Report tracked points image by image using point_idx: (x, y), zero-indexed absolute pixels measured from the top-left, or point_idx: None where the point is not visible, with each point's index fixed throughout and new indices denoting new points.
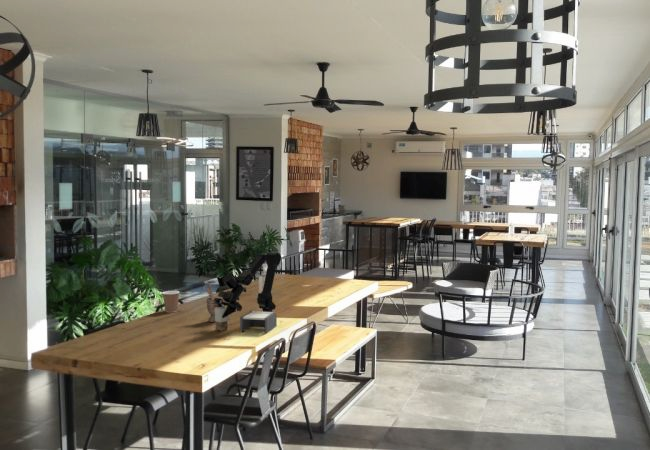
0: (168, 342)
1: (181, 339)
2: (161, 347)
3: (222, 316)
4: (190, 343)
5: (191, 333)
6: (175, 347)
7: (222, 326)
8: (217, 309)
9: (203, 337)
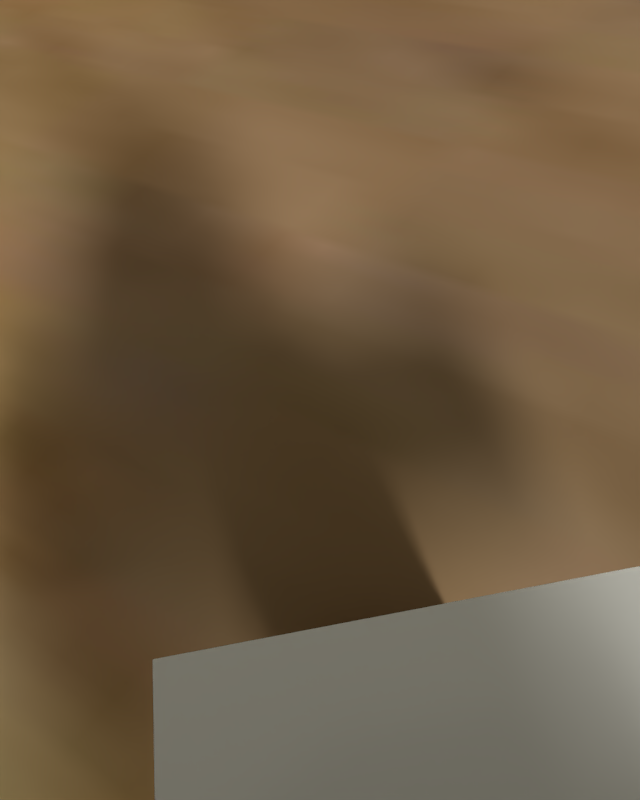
0: (264, 56)
1: (280, 140)
2: (170, 6)
3: None
4: (93, 155)
5: (459, 275)
6: (90, 59)
7: None
8: (435, 607)
9: (188, 309)
